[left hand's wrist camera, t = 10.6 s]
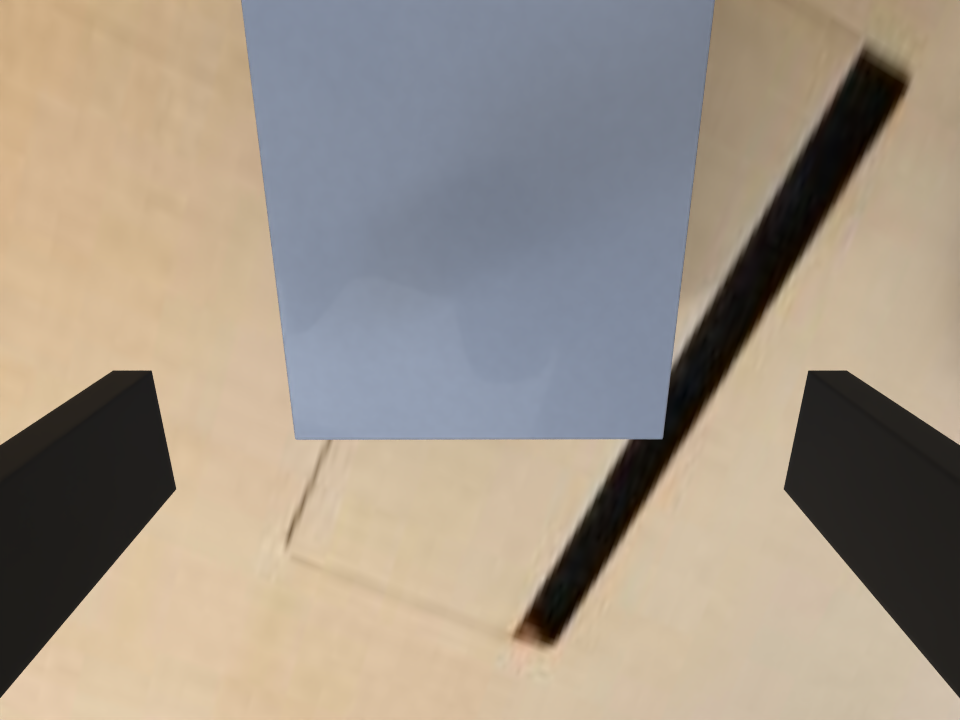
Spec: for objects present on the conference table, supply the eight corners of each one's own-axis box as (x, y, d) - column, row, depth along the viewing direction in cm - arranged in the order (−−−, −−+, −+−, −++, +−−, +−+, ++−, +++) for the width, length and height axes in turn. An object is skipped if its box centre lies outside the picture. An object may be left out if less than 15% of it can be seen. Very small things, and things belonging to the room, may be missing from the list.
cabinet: (313, -204, 21) (183, -465, 12) (642, -205, 21) (771, -466, 12) (355, 337, 28) (294, 440, 18) (602, 337, 28) (663, 439, 18)
